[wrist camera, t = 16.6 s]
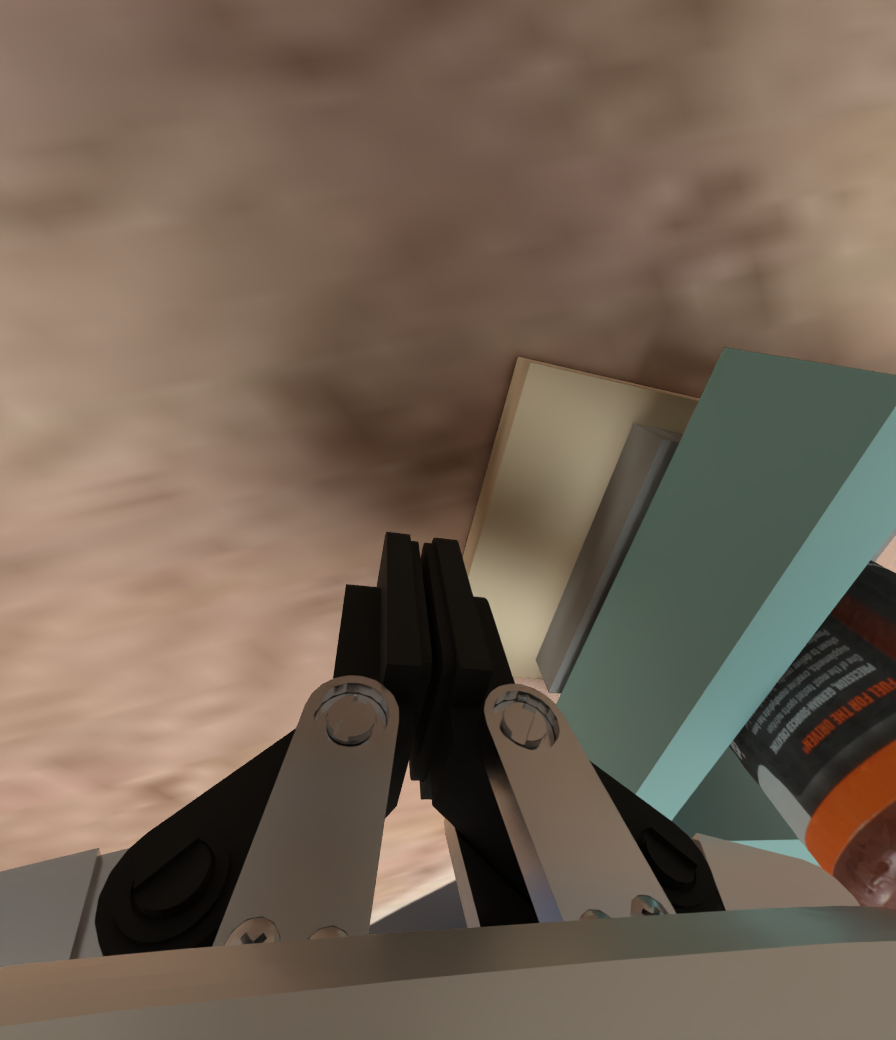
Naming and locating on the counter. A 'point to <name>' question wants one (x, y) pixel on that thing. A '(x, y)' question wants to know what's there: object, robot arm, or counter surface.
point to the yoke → (734, 584)
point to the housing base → (566, 506)
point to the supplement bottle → (837, 741)
